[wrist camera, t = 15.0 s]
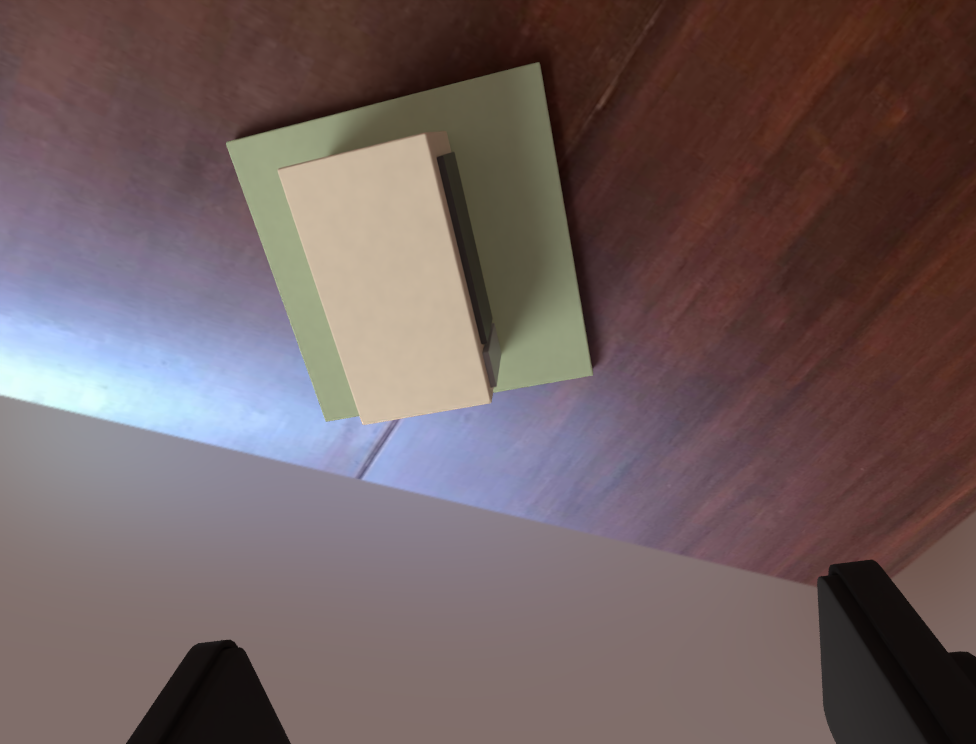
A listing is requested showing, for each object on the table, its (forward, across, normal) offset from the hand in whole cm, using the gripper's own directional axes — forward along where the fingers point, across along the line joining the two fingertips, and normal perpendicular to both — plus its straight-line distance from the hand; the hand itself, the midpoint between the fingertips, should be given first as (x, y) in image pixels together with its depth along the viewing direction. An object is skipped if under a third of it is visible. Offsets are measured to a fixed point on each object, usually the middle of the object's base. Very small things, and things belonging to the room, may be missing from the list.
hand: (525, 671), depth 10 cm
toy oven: (+24, +6, -3) cm, 25 cm away
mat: (+25, +6, -3) cm, 26 cm away
